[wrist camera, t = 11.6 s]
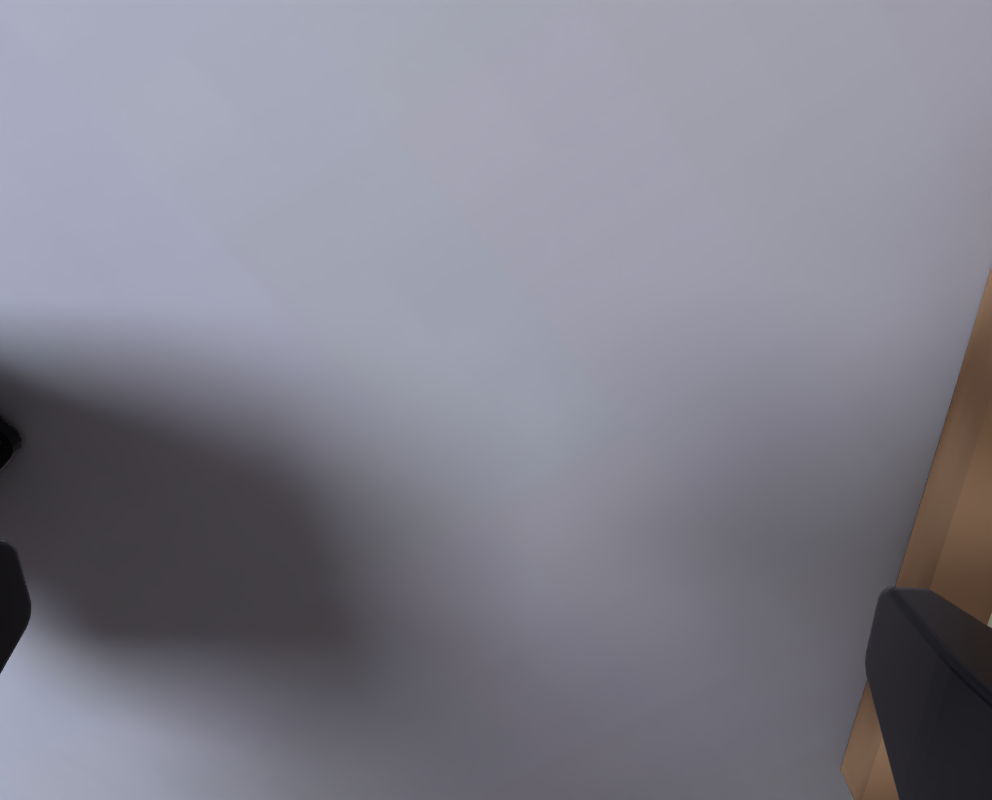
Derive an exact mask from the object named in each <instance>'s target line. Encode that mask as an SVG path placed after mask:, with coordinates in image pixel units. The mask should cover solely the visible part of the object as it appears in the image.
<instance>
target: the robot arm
mask: <svg viewBox="0 0 992 800" xmlns="http://www.w3.org/2000/svg"><path fill="white" fill-rule="evenodd" d="M0 441H1V443H2V444H3V447H4V448H1V447H0V472H1V471H2V470H3V469H4V468H5V467H6V466H7V464H8V463H9V462H10V461H11V460H12V459H13V458H14V457H15V455H16V454H17V453H18V452H19V450H20V448H21V438H20V436H19V434H18V432H17V431H16V430H15V429H14V428H13V427H12V426H10V425H9V424H8V423H6V422H5V421H4V420H3V419H1V418H0ZM30 615H31V600H30V596H29V592H28V589H27V585H26V581H25V578H24V574H23V570H22V567H21V563H20V560H19V556H18V553H17V550H16V548H15V547H14V546H13V544H12V543H10V542H8V541H6V540H3V539H0V673H1V672H2V670H3V668H4V666H5V665H6V663H7V661H8V659H9V658H10V656H11V654H12V652H13V651H14V649H15V647H16V645H17V643H18V642H19V640H20V638H21V636H22V635H23V633H24V631H25V629H26V627H27V625H28V623H29V619H30ZM865 667H866V676H867V680H868V684H869V688H870V692H871V695H872V699H873V703H874V707H875V711H876V714H877V718H878V722H879V726H880V730H881V733H882V737H883V741H884V745H885V749H886V752H887V756H888V760H889V764H890V768H891V771H892V775H893V779H894V783H895V786H896V790H897V794H898V798H899V800H992V628H991V627H989V626H988V625H986V624H984V623H983V622H981V621H980V620H978V619H977V618H975V617H973V616H972V615H970V614H969V613H967V612H965V611H964V610H962V609H961V608H959V607H957V606H956V605H954V604H953V603H951V602H950V601H948V600H946V599H945V598H943V597H942V596H940V595H938V594H937V593H935V592H934V591H932V590H930V589H926V588H914V587H893V586H890V587H887V588H886V589H884V590H883V591H882V592H881V594H880V596H879V598H878V601H877V606H876V610H875V615H874V619H873V623H872V628H871V632H870V637H869V641H868V646H867V650H866V658H865Z"/></svg>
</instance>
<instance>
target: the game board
mask: <svg viewBox="0 0 992 800" xmlns="http://www.w3.org/2000/svg"><path fill="white" fill-rule="evenodd" d="M895 587H914V588H926V589H930V590H932V591H934V592H935V593H937V594H938V595H940V596H942V597H943V598H945V599H946V600H948V601H950V602H951V603H953V604H954V605H956V606H957V607H959V608H961V609H962V610H964V611H965V612H967V613H969V614H970V615H972V616H973V617H975V618H977V619H978V620H980V621H981V622H983V623H984V624H986V625H988V626H989V627H991V628H992V268H991V271H990V274H989V278H988V281H987V284H986V288H985V291H984V294H983V298H982V301H981V304H980V308H979V311H978V314H977V318H976V321H975V324H974V328H973V331H972V334H971V337H970V341H969V344H968V347H967V351H966V354H965V357H964V361H963V364H962V367H961V371H960V374H959V377H958V381H957V384H956V387H955V391H954V394H953V397H952V400H951V404H950V407H949V410H948V414H947V417H946V420H945V424H944V427H943V430H942V434H941V437H940V440H939V444H938V447H937V450H936V454H935V457H934V460H933V464H932V467H931V470H930V473H929V477H928V480H927V483H926V487H925V490H924V493H923V497H922V500H921V503H920V507H919V510H918V513H917V517H916V520H915V523H914V527H913V530H912V533H911V537H910V540H909V543H908V546H907V550H906V553H905V556H904V560H903V563H902V566H901V570H900V573H899V576H898V580H897V583H896V586H895ZM840 770H841V772H842V774H843V776H844V778H845V780H846V783H847V785H848V787H849V789H850V791H851V793H852V796H853V798H854V800H899V798H898V794H897V790H896V786H895V783H894V779H893V775H892V771H891V768H890V764H889V760H888V756H887V752H886V749H885V745H884V741H883V737H882V733H881V730H880V726H879V722H878V718H877V714H876V711H875V707H874V703H873V699H872V695H871V692H870V688H869V684H868V680H867V682H866V686H865V689H864V692H863V696H862V699H861V702H860V706H859V709H858V712H857V716H856V719H855V722H854V726H853V729H852V732H851V736H850V739H849V742H848V745H847V749H846V752H845V755H844V759H843V762H842V765H841V769H840Z"/></svg>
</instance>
